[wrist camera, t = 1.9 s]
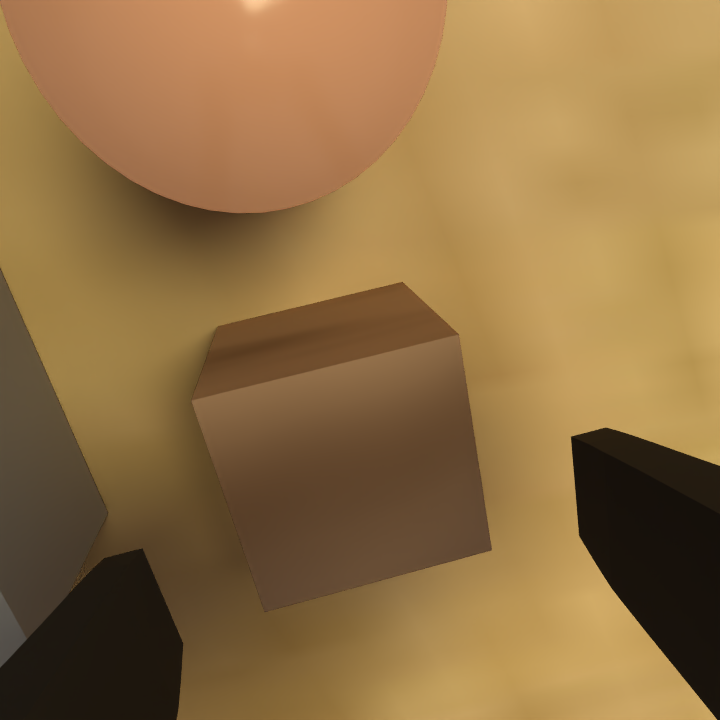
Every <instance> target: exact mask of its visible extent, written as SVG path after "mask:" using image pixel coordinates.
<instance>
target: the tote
mask: <svg viewBox="0 0 720 720" xmlns="http://www.w3.org/2000/svg"><path fill="white" fill-rule="evenodd" d="M107 514H108V512H107V510H106V507H105V505H104V503H103V501H102V498H101V496H100V494H99V492H98V489H97V487H96V485H95V482H94V480H93V478H92V476H91V473H90V471H89V469H88V467H87V464H86V462H85V460H84V458H83V455H82V453H81V451H80V449H79V446H78V444H77V442H76V439H75V437H74V435H73V433H72V430H71V428H70V426H69V424H68V421H67V419H66V417H65V415H64V412H63V410H62V408H61V405H60V403H59V401H58V399H57V396H56V394H55V392H54V390H53V387H52V385H51V383H50V381H49V378H48V376H47V374H46V371H45V369H44V367H43V365H42V362H41V360H40V358H39V356H38V353H37V351H36V349H35V347H34V344H33V342H32V340H31V337H30V335H29V333H28V331H27V328H26V326H25V324H24V322H23V319H22V317H21V315H20V313H19V310H18V308H17V306H16V304H15V301H14V299H13V297H12V294H11V292H10V290H9V288H8V285H7V283H6V281H5V279H4V276H3V274H2V272H1V270H0V667H1V666H2V665H3V664H4V663H5V662H6V661H7V660H8V659H9V658H10V657H11V656H12V655H13V654H14V652H15V651H16V650H17V649H18V648H19V647H20V646H21V645H22V644H23V643H24V642H25V641H26V640H27V639H28V638H29V636H30V635H31V634H32V633H33V632H34V631H35V630H36V629H37V628H38V627H39V626H40V625H41V624H42V623H43V621H44V620H45V619H46V618H47V617H48V616H49V615H50V614H51V613H52V612H53V611H54V610H55V608H56V607H57V606H58V605H59V604H60V603H61V602H62V601H63V600H64V599H65V598H66V597H67V596H68V594H69V592H70V590H71V588H72V586H73V584H74V582H75V580H76V578H77V576H78V574H79V572H80V570H81V568H82V566H83V563H84V561H85V559H86V557H87V555H88V553H89V551H90V549H91V547H92V545H93V543H94V541H95V539H96V537H97V535H98V532H99V530H100V528H101V526H102V524H103V522H104V520H105V518H106V516H107Z"/></svg>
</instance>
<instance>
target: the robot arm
mask: <svg viewBox="0 0 720 720" xmlns="http://www.w3.org/2000/svg"><path fill="white" fill-rule="evenodd" d="M571 442H572V454H573V466H574V478H575V490H576V503H577V515H578V527H579V536H580V538H581V540H582V541H583V543H584V545H585V546H586V548H587V550H588V551H589V553H590V555H591V556H592V558H593V560H594V561H595V563H596V565H597V566H598V568H599V569H600V571H601V572H602V574H603V575H604V577H605V579H606V580H607V582H608V583H609V585H610V586H611V588H612V589H613V591H614V592H615V593H616V594H617V596H618V597H619V598H620V600H621V601H622V602H623V603H624V605H625V606H626V607H627V608H628V610H629V611H630V612H631V613H632V615H633V616H634V617H635V618H636V620H637V621H638V622H639V623H640V625H641V626H642V627H643V628H644V630H645V631H646V632H647V633H648V635H649V636H650V637H651V638H652V640H653V641H654V642H655V643H656V645H657V646H658V647H659V648H660V649H661V651H662V652H663V653H664V654H665V656H666V657H667V658H668V659H669V661H670V662H671V663H672V664H673V665H674V667H675V668H676V669H677V670H678V672H679V673H680V674H681V675H682V677H683V678H684V679H685V680H686V682H687V683H688V684H689V685H690V686H691V688H692V689H693V690H694V691H695V693H696V694H697V695H698V696H699V698H700V699H701V700H702V701H703V702H704V704H705V705H706V706H707V707H708V709H709V710H710V711H711V712H712V714H713V715H714V716H715V717H716V719H717V720H720V466H718V465H715V464H712V463H710V462H707V461H704V460H701V459H698V458H695V457H692V456H690V455H687V454H684V453H681V452H678V451H675V450H673V449H670V448H667V447H664V446H661V445H659V444H656V443H653V442H650V441H647V440H644V439H641V438H638V437H635V436H632V435H629V434H626V433H623V432H620V431H616V430H613V429H609V428H603V429H599V430H595V431H591V432H587V433H583V434H580V435H576V436H572V437H571ZM182 653H183V642H182V640H181V637H180V635H179V633H178V630H177V628H176V626H175V623H174V621H173V619H172V616H171V614H170V612H169V609H168V607H167V605H166V602H165V600H164V598H163V595H162V593H161V591H160V588H159V586H158V584H157V581H156V579H155V577H154V574H153V572H152V570H151V567H150V565H149V563H148V560H147V558H146V556H145V553H144V551H143V549H138V550H134V551H130V552H127V553H123V554H119V555H115V556H111V557H107V558H104V559H103V560H102V561H101V562H100V563H99V564H98V565H97V566H96V567H95V568H94V569H93V570H91V571H90V572H89V573H88V575H87V576H86V577H85V578H84V579H83V580H82V581H81V582H80V583H79V584H78V585H77V586H76V587H75V588H74V589H73V590H72V591H71V592H70V593H69V594H68V596H67V597H66V598H65V599H64V600H63V601H62V602H61V603H60V604H59V605H58V606H57V607H56V608H55V610H54V611H53V612H52V613H51V614H50V615H49V616H48V617H47V618H46V619H45V620H44V621H43V623H42V624H41V625H40V626H39V627H38V628H37V629H36V630H35V631H34V632H33V633H32V634H31V635H30V636H29V638H28V639H27V640H26V641H25V642H24V643H23V644H22V645H21V646H20V647H19V648H18V649H17V650H16V651H15V652H14V654H13V655H12V656H11V657H10V658H9V659H8V660H7V661H6V662H5V663H4V664H3V665H2V666H1V667H0V720H176V719H177V714H178V707H179V696H180V684H181V670H182Z"/></svg>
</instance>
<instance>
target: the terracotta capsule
mask: <svg viewBox="0 0 720 720" xmlns="http://www.w3.org/2000/svg"><path fill="white" fill-rule="evenodd" d="M0 4H1V7H2V10H3V13H4V16H5V19H6V23H7V26H8V29H9V31H10V34H11V36H12V38H13V41H14V43H15V45H16V47H17V50H18V52H19V54H20V56H21V59H22V61H23V63H24V65H25V66H26V68H27V70H28V72H29V73H30V75H31V77H32V78H33V80H34V82H35V84H36V85H37V87H38V89H39V90H40V92H41V93H42V95H43V96H44V98H45V99H46V100H47V102H48V103H49V104H50V106H51V107H52V108H53V110H54V111H55V112H56V114H57V115H58V117H59V118H60V119H61V120H62V121H63V122H64V124H65V125H66V126H67V127H68V128H69V129H70V130H71V131H72V132H73V133H74V134H75V135H76V137H77V138H78V139H79V140H80V141H81V142H82V143H83V144H84V145H85V146H87V147H88V148H89V149H90V150H91V151H92V152H93V153H95V154H96V155H97V156H98V157H99V158H100V159H102V160H103V161H104V162H105V163H106V164H108V165H109V166H111V167H112V168H114V169H115V170H117V171H118V172H119V173H121V174H122V175H124V176H125V177H127V178H128V179H130V180H131V181H133V182H135V183H137V184H139V185H141V186H143V187H145V188H146V189H148V190H150V191H152V192H154V193H156V194H158V195H161V196H164V197H166V198H169V199H172V200H174V201H177V202H180V203H182V204H186V205H190V206H194V207H198V208H202V209H206V210H212V211H221V212H230V213H263V212H269V211H276V210H282V209H288V208H291V207H295V206H298V205H301V204H305V203H308V202H311V201H314V200H316V199H318V198H320V197H323V196H325V195H327V194H329V193H331V192H333V191H336V190H337V189H339V188H340V187H342V186H343V185H345V184H347V183H348V182H350V181H351V180H353V179H355V178H356V177H358V176H359V175H360V174H361V173H362V172H364V171H365V170H366V169H367V168H368V167H369V166H371V165H372V164H373V163H374V162H375V161H377V160H378V159H379V157H380V156H381V155H382V154H383V153H384V152H385V151H386V150H387V149H388V148H389V147H390V146H391V144H392V143H393V142H394V141H395V140H396V138H397V137H398V136H399V134H400V133H401V131H402V130H403V129H404V127H405V126H406V124H407V123H408V122H409V120H410V119H411V117H412V115H413V113H414V111H415V110H416V108H417V106H418V104H419V102H420V100H421V98H422V96H423V95H424V92H425V90H426V87H427V85H428V82H429V80H430V77H431V75H432V72H433V69H434V67H435V63H436V60H437V56H438V52H439V48H440V44H441V41H442V36H443V29H444V23H445V16H446V9H447V0H0Z"/></svg>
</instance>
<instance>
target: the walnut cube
mask: <svg viewBox="0 0 720 720" xmlns="http://www.w3.org/2000/svg"><path fill="white" fill-rule="evenodd" d="M191 402H192V405H193V408H194V410H195V413H196V416H197V419H198V422H199V425H200V428H201V431H202V433H203V436H204V439H205V442H206V445H207V448H208V451H209V453H210V456H211V459H212V462H213V465H214V468H215V471H216V474H217V476H218V479H219V482H220V485H221V488H222V491H223V494H224V497H225V499H226V502H227V505H228V508H229V511H230V514H231V517H232V520H233V522H234V525H235V528H236V531H237V534H238V537H239V540H240V543H241V545H242V548H243V551H244V554H245V557H246V560H247V563H248V565H249V568H250V571H251V574H252V577H253V580H254V583H255V586H256V588H257V591H258V594H259V597H260V600H261V603H262V606H263V609H264V611H265V612H267V611H271V610H274V609H278V608H282V607H285V606H289V605H293V604H296V603H300V602H304V601H307V600H311V599H315V598H318V597H322V596H326V595H329V594H333V593H337V592H340V591H344V590H348V589H351V588H355V587H359V586H362V585H366V584H370V583H373V582H377V581H381V580H384V579H388V578H392V577H395V576H399V575H403V574H406V573H410V572H414V571H417V570H421V569H425V568H428V567H432V566H436V565H439V564H443V563H447V562H450V561H454V560H458V559H461V558H465V557H469V556H472V555H476V554H480V553H483V552H487V551H491V550H492V548H491V541H490V535H489V528H488V522H487V515H486V509H485V502H484V496H483V489H482V483H481V476H480V469H479V463H478V456H477V450H476V443H475V437H474V430H473V424H472V417H471V411H470V404H469V398H468V391H467V384H466V378H465V371H464V365H463V358H462V352H461V345H460V339H459V334H458V333H457V332H456V331H455V330H454V329H452V328H451V327H450V326H449V325H448V324H447V323H446V322H445V321H444V320H443V319H442V318H441V317H440V316H439V315H437V314H436V313H435V312H434V311H433V310H432V309H431V308H430V307H429V306H428V305H427V304H426V303H425V302H423V301H422V300H421V299H420V298H419V297H418V296H417V295H416V294H415V293H414V292H413V291H412V290H411V289H410V288H408V287H407V286H406V285H405V284H404V283H403V282H401V283H396V284H392V285H388V286H384V287H380V288H376V289H371V290H367V291H363V292H359V293H355V294H351V295H346V296H342V297H338V298H334V299H330V300H325V301H321V302H317V303H313V304H309V305H305V306H300V307H296V308H292V309H288V310H284V311H280V312H275V313H271V314H267V315H263V316H259V317H255V318H250V319H246V320H242V321H238V322H234V323H230V324H225V325H221V326H218V327H217V330H216V333H215V336H214V339H213V341H212V344H211V347H210V350H209V352H208V355H207V358H206V361H205V363H204V366H203V369H202V372H201V375H200V377H199V380H198V383H197V386H196V388H195V391H194V394H193V397H192V400H191Z"/></svg>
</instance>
